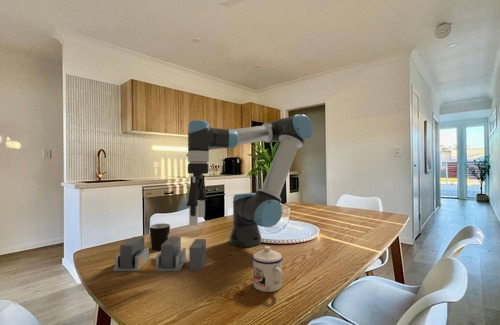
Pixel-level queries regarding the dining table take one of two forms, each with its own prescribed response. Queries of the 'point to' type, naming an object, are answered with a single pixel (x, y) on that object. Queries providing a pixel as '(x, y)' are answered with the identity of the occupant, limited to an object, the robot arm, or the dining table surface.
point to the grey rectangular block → (197, 255)
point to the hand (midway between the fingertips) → (197, 220)
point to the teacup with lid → (267, 270)
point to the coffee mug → (159, 235)
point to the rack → (138, 258)
